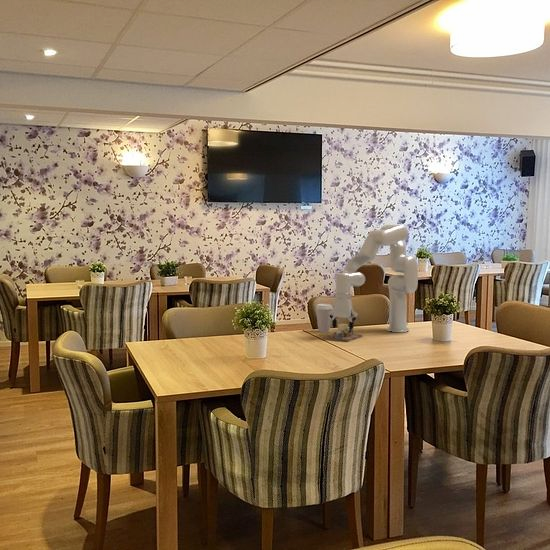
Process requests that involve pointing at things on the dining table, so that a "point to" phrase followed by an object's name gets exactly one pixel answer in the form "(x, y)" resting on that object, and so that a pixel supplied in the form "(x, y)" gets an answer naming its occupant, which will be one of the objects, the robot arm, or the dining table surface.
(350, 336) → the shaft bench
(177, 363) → the dining table surface
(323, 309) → the coffee cup
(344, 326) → the coupler
